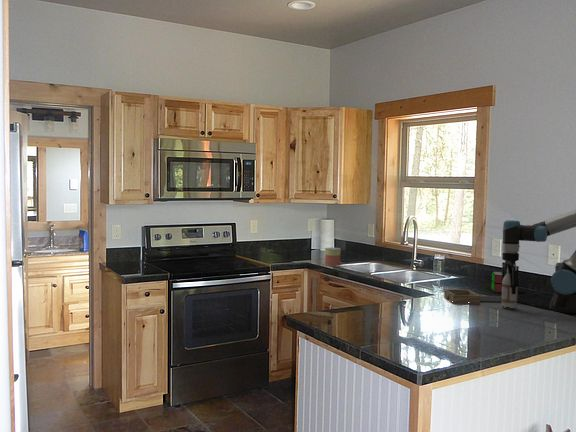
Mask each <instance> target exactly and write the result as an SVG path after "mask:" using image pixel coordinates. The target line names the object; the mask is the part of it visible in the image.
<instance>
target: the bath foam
mask: <svg viewBox="0 0 576 432" xmlns="http://www.w3.org/2000/svg"><path fill="white" fill-rule="evenodd" d="M509 286H511V283H510V275H509V273H508V268H507V274H506V275H505V277H504V278H503V281H502V292H501V296H502V301H501V308H506V307H510V308H509V309H516V308H517V307H518V305H517V304H518V293H517V287H516V301H510V287H509ZM503 306H504V307H503ZM515 307H516V308H515ZM506 309H507V308H506Z"/></svg>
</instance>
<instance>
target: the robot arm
mask: <svg viewBox="0 0 576 432" xmlns="http://www.w3.org/2000/svg"><path fill="white" fill-rule="evenodd" d="M502 225H503V227H502V245H501V246H502V247H501V248H502V250H501V251H502V253H501V255H502V256H501V258H502V261H504V262H502V263H501V273H502V278H501V282H502V281H503V278H504V277H505V275H506V274H507V268H508V273H509V275H510V283H511V286H509V287H510V301H516V287H519V281H520V280H519V270H520V269H519V268H520V266H518V265H517V264H516V262H518V261H519V260H520V253H519V252H520V247H521V246H520V241H521V242H522V241H525V242H537V243H541V242H542V243H543V242H546V241H547V239H548V237H549V236H551V235H556V234H558V233H561V232H564V231H567V230H570V229H573V228H576V209H575V210H572V211H569V212H566V213H564V214H560V215H557V216H555V217H552V218H549V219H546V220H544V221H540V222H536V223H533V224H532V225H529V224H527V225H525V224H521V222H520V221H519V220H508V219H507V220H504V221H503V224H502ZM554 269H555V272H553V274H552V275H551V278H550V283H551V286H552V288H553V289H554V290H553V291H554V292H553V295H552V298H551V300H550V303H549V310H552V311H554V312H560V313H566V314H576V249H575V250H574V252H573V253H572V255H571V256H570V257H569V258H568V259H564V260H563V261H562V262H556V263H555V268H554Z"/></svg>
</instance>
